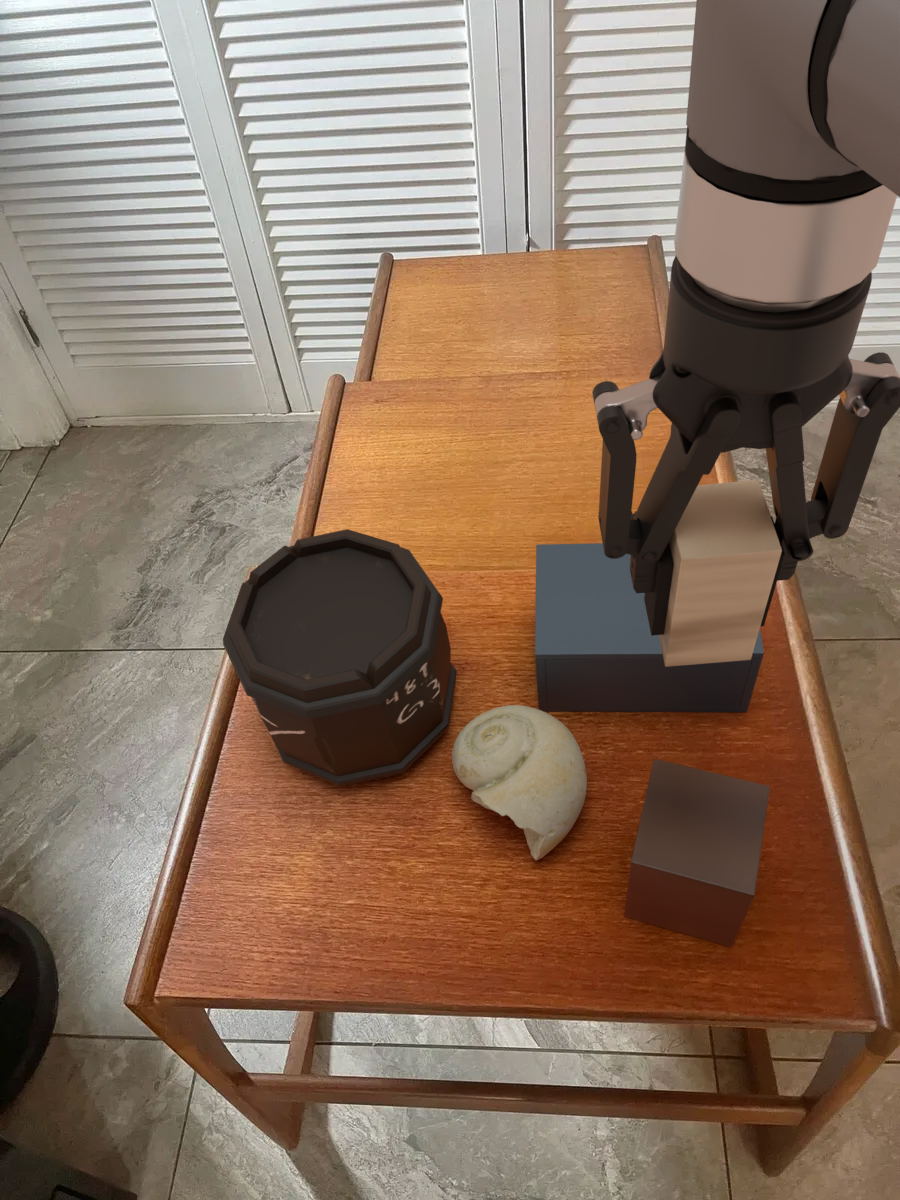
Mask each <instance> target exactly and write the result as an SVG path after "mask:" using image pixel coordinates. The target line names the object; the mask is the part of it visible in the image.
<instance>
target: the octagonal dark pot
mask: <svg viewBox="0 0 900 1200" xmlns="http://www.w3.org/2000/svg"><path fill="white" fill-rule="evenodd" d="M443 601H444V597H443V596H442V595H441V593H440V591H439V590H438V588H437V587H436V586H435V584H434V583H433V581H432V580H431V579H430V577H429V576H428V574H427V573H426V572H425V570H424V568H422V566H421V565H420V563H419V562H418V560H417V559H416V558H415V556H414V554H413V553H412V552H411V550H410V549H407V548H404V547H401V546H400V544H399V543H395V542H393V541H392V542H391V541H389V540H385V539H382V538H378V537H375V536H372V535H369V534H365V533H362V532H359V531H355V530H352V529H348V528H346V529H341V530H336V531H331V532H328V533H323V534H319V535H313V536H308V537H305V538H303V537H302V538H299V539H296V541H295V543H294V544H293V545H290V546H288V545H285V544H284V545H283V546H282V547H281V548H279V549H278V550H277V551H275V552H274V553H273V554H271V555H270V556H269V557H268V558H266V560H264V561H262V562H261V563H260V564H258V566H256V567H255V568H254V569H253V570H251V571H250V572H249V575H248V579H247V580H246V581H244V582H242V583H241V585H240V588H239V591H238V594H237V595H236V600H235V602H234V605H233V608H232V611H231V614H230V616H229V621H228V623H227V626H226V628H225V631H224V633H223V634H224V635H223V637H222V645H223V647H224V650H225V652H226V654H227V656H228V658H229V660H230V662H231V665H232V667H233V669H234V672H235V673H236V676H237V677H238V679H239V682H240V684H241V686H242V688H243V690H244V692H245V695H246V696H248V697H250V698H251V699H252V701H253V704H254V705H255V708H256V709H257V712H258V714H259V717H260V719H261V720H262V722H263V724H264V726H265V727H266V729H267V731H268V733H269V735H270V737H271V740H272V741H273V743H274V746H275V747H276V749H277V751H278V754H279V756H280V758H281V760H282V762H283V763H285V764H286V765H288V766H291V767H293V768H296V769H298V770H301V771H303V772H306V773H308V774H310V775H313V776H315V777H318V778H319V779H322V780H325V781H328V782H330V783H332V784H335V785H337V786H340V787H343V786H350V785H356V784H359V783H365V782H368V781H369V782H370V781H373V780H374V781H375V780H378V779H383V778H388V777H392V776H397V775H401V774H403V773H405V772H406V771H407V770H408V769H409V768H410V767H411V766H412V765H413V764H414V763H415V762H417V761H418V759H420V757H421V756H422V755H423V754H424V753H426V751H427V750H428V749H429V748H430V747H431V746H433V744H435V742H437V740H439V739H440V737H441V736H443V734H444V733H446V732H447V731H448V729H449V726H450V719H451V714H452V707H453V701H454V694H455V688H456V680H457V674H458V670H457V669H456V667H455V666H454V665H453V663H452V656H451V655H452V654H451V653H452V651H451V650H452V649H451V645H450V639H449V632H448V629H447V624H446V622H445V620H444V617H443V614H442V612H441V611H442V606H443Z"/></svg>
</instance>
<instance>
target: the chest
mask: <svg viewBox="0 0 900 1200" xmlns="http://www.w3.org/2000/svg"><path fill="white" fill-rule="evenodd" d="M534 661H535V679H536V691H537V705H538V707H537V709H538V710H541V711H544V712H546V713H547V712H548V713H549V712H554V713H555V712H556V713H557V712H559V713H561V712H563V713H564V712H565V713H567V712H569V713H570V712H571V713H572V712H575V713H576V712H578V713H579V712H581V713H583V712H585V713H586V712H588V713H591V712H592V713H595V712H596V713H747V712H748V710H749V707H750V703H751V700H752V696H753V692H754V689H755V687H756V683H757V679H758V675H759V672H760V668H761V666H762V662H763V658H762V659H751V660H742V661H730V662H717V663H705V664H693V665H680V666H668V667H666V666H665V663H664V659H535V658H534Z"/></svg>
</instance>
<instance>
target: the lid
mask: <svg viewBox="0 0 900 1200" xmlns="http://www.w3.org/2000/svg"><path fill="white" fill-rule="evenodd" d="M535 557H536V558H535V615H534V616H535V617H534V618H535V619H534V620H535V621H534V660H535V659H664V658H663V654H662V649H661V644H660V639H659V635H653V636H651V631H650V626H649V621H648V616H647V611H646V606H645V601H644V595H645V593H636V592H635V590H634V588H633V583H632V578H631V573H630V559H631V555H630V554H625V555H624V556H623V557H621V558H617V559H611V558H608V557H607V556H605V553H604V548H603V542H598V543H595V542H593V543H548V544H547V543H546V544H544V543H543V544H541V543H540V544H539V543H538V544H536V546H535ZM762 638H763V637H762V631H761V628H760V629H759V633H758V636H757V640H756V643H755V647H754V650H753V654H752V657H751V659H762V660H763V659H764V655H765V649H764V643H763V639H762Z"/></svg>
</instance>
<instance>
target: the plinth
mask: <svg viewBox="0 0 900 1200" xmlns="http://www.w3.org/2000/svg"><path fill="white" fill-rule="evenodd" d="M652 762H653V763H652V766H651V770H650V773H649V774H650V775H649V779H648V783H647V788H646V791H645V797H644V801H643V805H642V809H641V815H640V819H639V823H638V828H637V832H636V836H635V840H634V845H633V850H632V855H631V859H630V864H629V874H628V879H627V880H628V882H627V888H626V898H625V905H624V912H623V913H624V914H623V917H625V918H628V919H631V920H634V921H638V922H642V923H645V924H647V925H648V924H649V925H651V926H654V927H655V926H656V927H658V928H662V929H665V930H668V931H673V932H675V933H680V934H683V935H687V936H690V937H694V938H697V939H700V940H703V941H707V942H709V943H713V944H714V943H715V944H717V945H721V946H724V947H727V948H733V946H734V944H735V941H736V938H737V937H738V934H739V932H740V930H741V927H742V926H743V923H744V921H745V919H746V916H747V914H748V912H749V909H750V908H751V905H752V903H753V900H754V899H755V895H756V891H757V890H756V889H757V882H758V875H759V867H760V860H761V854H762V846H763V841H764V840H763V839H764V832H765V825H766V818H767V810H768V806H769V805H768V804H769V797H770V792H771V791H770V790H771V786H770V785H766V784H763V783H759V782H754V781H752V780H751V781H750V780H746V779H743V778H737V777H733V776H730V775H725V774H720V773H716V772H713V771H709V770H704V769H699V768H697V767H692V766H688V765H684V764H679V763H674V762H670V761H666V760H662V759H658V758H654V759H653V761H652Z"/></svg>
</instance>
